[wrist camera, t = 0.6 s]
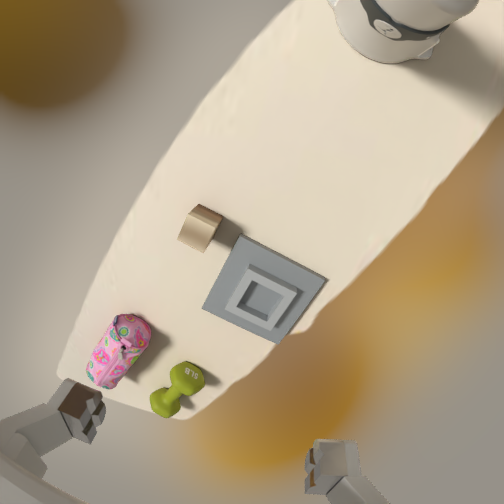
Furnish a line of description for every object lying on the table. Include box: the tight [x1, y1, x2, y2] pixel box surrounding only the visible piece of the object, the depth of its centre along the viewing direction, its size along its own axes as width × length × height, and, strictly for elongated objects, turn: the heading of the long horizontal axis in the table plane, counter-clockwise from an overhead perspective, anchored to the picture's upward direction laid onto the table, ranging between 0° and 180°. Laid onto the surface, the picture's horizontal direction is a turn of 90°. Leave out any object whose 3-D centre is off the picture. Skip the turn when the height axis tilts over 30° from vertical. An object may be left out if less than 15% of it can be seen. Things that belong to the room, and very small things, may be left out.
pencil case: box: [86, 314, 151, 389], centre depth 60 cm, size 21×9×9 cm, turn 140°
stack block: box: [177, 204, 223, 253], centre depth 48 cm, size 4×4×6 cm
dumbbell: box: [150, 362, 205, 418], centre depth 63 cm, size 16×8×7 cm, turn 145°
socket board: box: [202, 234, 325, 344], centre depth 53 cm, size 16×16×3 cm
